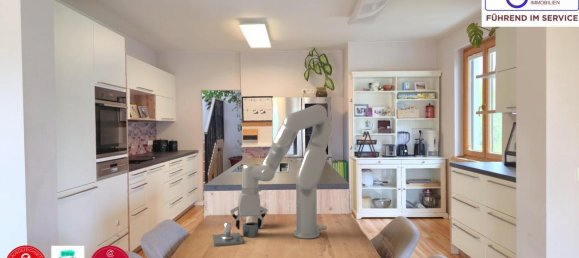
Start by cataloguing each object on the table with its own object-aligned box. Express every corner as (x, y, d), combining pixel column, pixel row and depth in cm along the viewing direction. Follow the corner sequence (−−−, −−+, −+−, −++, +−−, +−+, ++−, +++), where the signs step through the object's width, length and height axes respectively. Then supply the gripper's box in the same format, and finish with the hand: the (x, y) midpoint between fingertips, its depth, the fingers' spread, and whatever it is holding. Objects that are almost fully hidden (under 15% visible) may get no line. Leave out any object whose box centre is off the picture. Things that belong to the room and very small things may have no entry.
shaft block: (239, 235, 152) (239, 218, 152) (243, 243, 140) (243, 225, 140) (212, 237, 148) (212, 220, 148) (214, 246, 137) (214, 227, 137)
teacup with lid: (264, 224, 170) (264, 201, 170) (263, 229, 161) (263, 205, 161) (240, 224, 170) (240, 201, 170) (239, 229, 161) (239, 205, 161)
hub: (256, 232, 156) (256, 221, 156) (259, 236, 150) (259, 225, 150) (242, 233, 154) (242, 222, 154) (244, 237, 148) (244, 226, 148)
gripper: (266, 189, 158) (265, 225, 158) (230, 190, 154) (228, 226, 153) (269, 192, 151) (268, 229, 151) (232, 192, 146) (230, 231, 146)
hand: (248, 228), depth 152 cm, fingers open, 9 cm apart
